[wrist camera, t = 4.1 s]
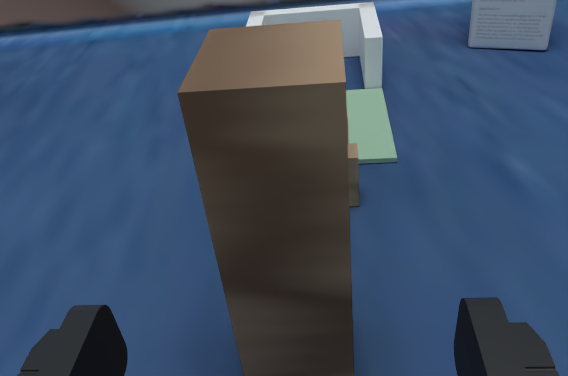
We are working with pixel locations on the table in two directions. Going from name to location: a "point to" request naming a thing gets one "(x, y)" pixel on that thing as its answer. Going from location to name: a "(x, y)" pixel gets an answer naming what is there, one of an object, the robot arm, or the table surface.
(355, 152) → the guides
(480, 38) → the skincare box
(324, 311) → the brown thin block
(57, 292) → the table surface
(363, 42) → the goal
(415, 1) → the table surface
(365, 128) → the pale green square plate
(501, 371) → the robot arm
